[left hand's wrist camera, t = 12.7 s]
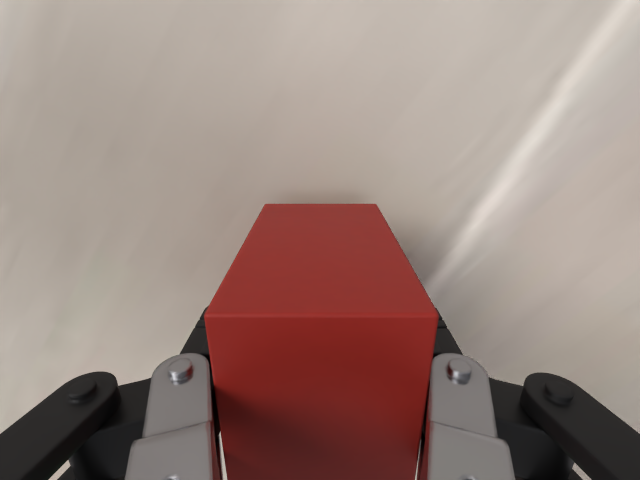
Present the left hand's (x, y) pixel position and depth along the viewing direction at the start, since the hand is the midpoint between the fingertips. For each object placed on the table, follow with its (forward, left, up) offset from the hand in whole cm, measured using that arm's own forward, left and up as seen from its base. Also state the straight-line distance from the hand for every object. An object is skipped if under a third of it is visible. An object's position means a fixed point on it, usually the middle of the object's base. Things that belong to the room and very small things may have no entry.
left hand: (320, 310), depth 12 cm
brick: (0, 0, -3) cm, 3 cm away
